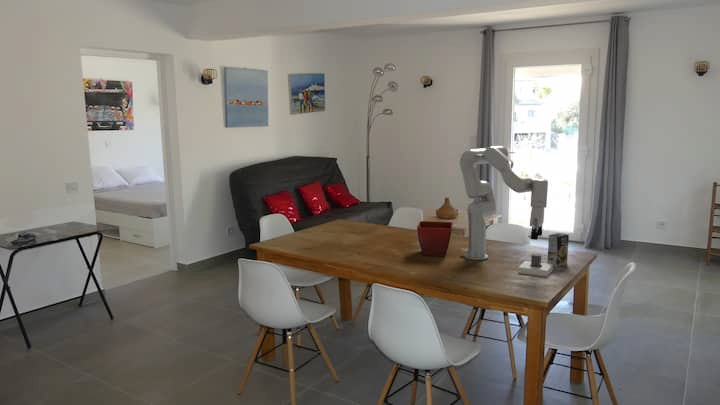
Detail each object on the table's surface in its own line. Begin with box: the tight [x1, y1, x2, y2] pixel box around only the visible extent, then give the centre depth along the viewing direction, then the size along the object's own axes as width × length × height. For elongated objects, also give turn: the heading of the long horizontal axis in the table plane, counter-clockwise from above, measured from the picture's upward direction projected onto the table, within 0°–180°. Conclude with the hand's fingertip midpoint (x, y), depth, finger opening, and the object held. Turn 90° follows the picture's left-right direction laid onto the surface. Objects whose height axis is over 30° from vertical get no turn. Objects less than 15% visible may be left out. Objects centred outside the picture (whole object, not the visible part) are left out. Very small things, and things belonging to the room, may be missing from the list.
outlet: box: [517, 260, 554, 277], centre depth 281 cm, size 14×14×3 cm
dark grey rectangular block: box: [530, 253, 542, 268], centre depth 280 cm, size 4×4×8 cm
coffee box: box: [546, 232, 570, 268], centre depth 293 cm, size 9×6×16 cm
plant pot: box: [416, 220, 454, 257], centre depth 318 cm, size 19×19×17 cm
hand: (536, 237), depth 279 cm, fingers open, 9 cm apart
